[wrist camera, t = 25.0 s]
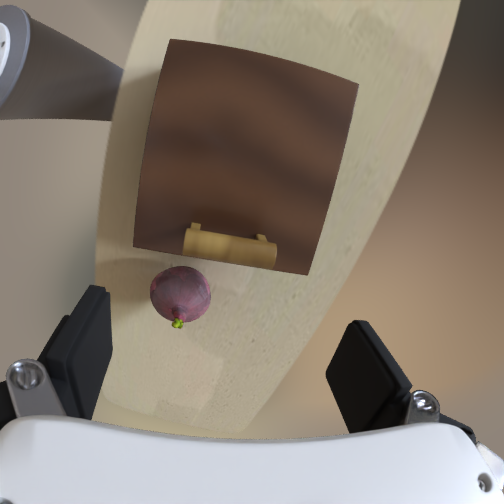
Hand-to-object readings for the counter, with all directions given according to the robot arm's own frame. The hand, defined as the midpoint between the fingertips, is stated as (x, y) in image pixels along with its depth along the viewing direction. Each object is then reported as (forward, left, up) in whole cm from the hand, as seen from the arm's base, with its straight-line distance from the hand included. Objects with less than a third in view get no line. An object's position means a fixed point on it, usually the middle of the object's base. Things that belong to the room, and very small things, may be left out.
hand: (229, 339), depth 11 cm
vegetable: (-6, -8, -22) cm, 24 cm away
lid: (+2, +5, -14) cm, 15 cm away
